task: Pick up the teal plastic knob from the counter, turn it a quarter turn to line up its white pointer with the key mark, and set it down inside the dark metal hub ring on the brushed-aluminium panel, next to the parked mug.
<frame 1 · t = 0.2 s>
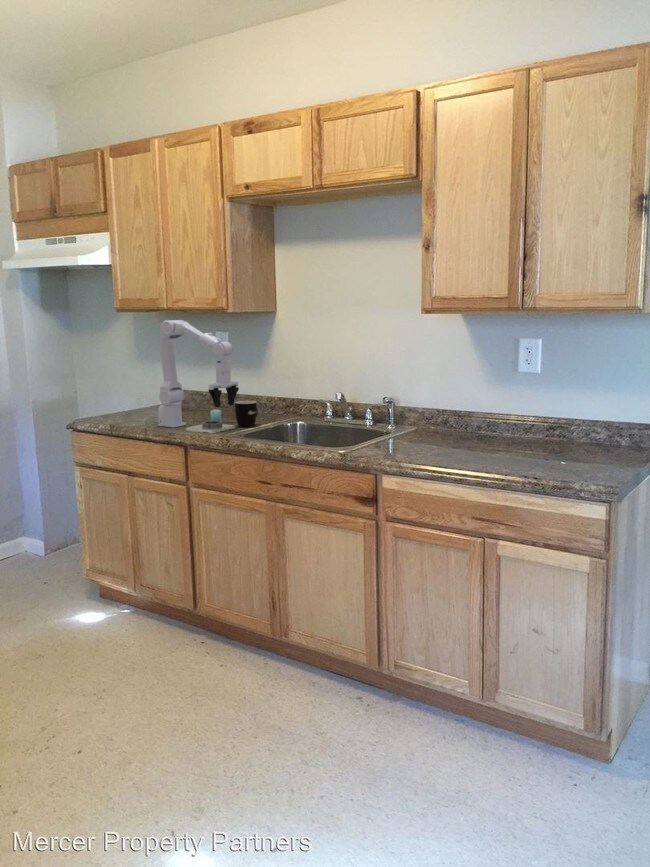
hand: (224, 406, 290), 10 cm above the worktop, fingers open, 7 cm apart
panel: (210, 429, 294), on the worktop
knob: (216, 424, 306), on the worktop
mug: (248, 426, 302), on the worktop
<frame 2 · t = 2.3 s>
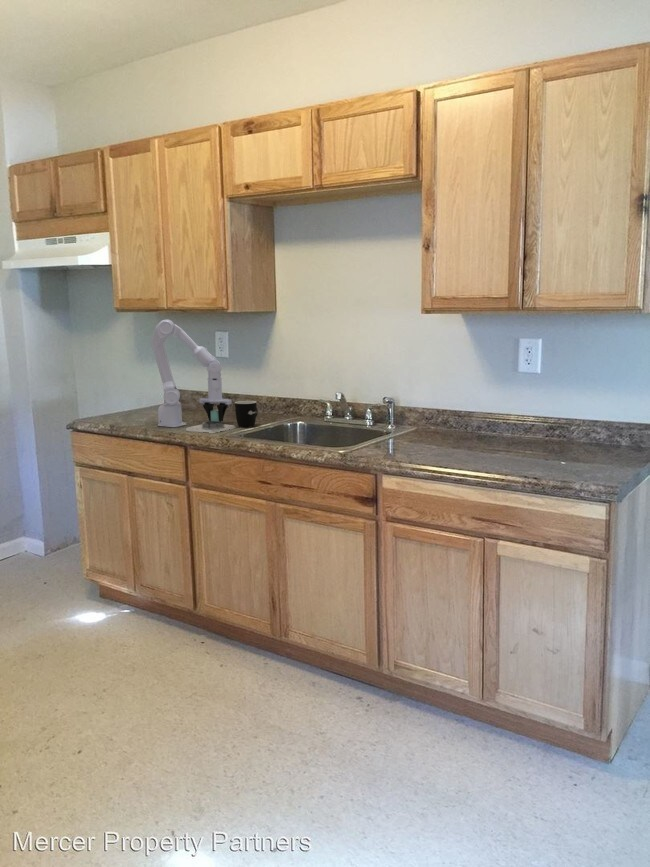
hand: (216, 420, 306), 2 cm above the worktop, fingers closed on knob, 4 cm apart
knob: (216, 424, 306), on the worktop, touching gripper
everything else where it was.
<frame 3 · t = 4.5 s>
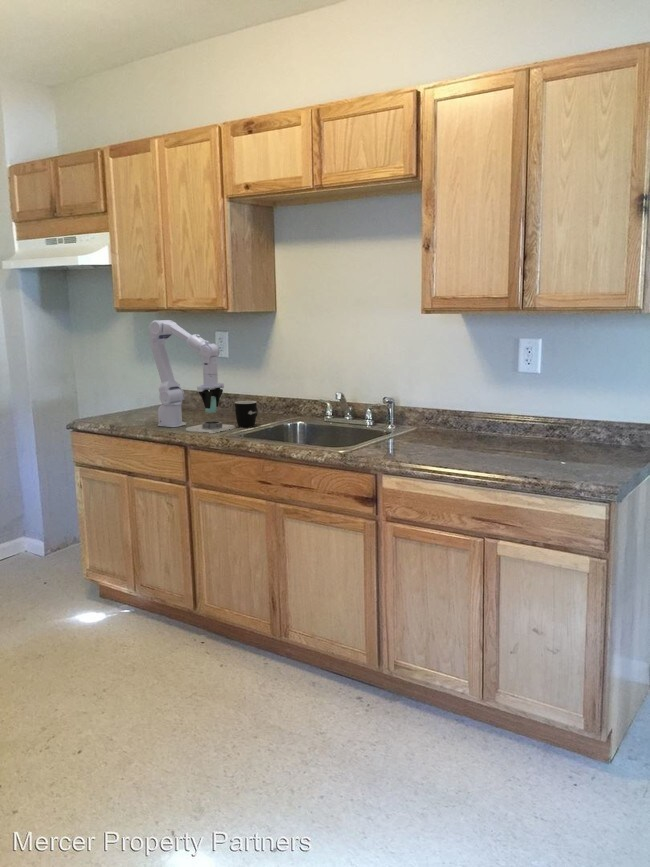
hand: (211, 407, 293), 9 cm above the worktop, fingers closed on knob, 4 cm apart
knob: (211, 412, 293), point 7 cm above the worktop, touching gripper
everything else where it was.
when the fingers open (3 cm above the worktop, at t = 6.8 s): knob stays where it is, resting on panel.
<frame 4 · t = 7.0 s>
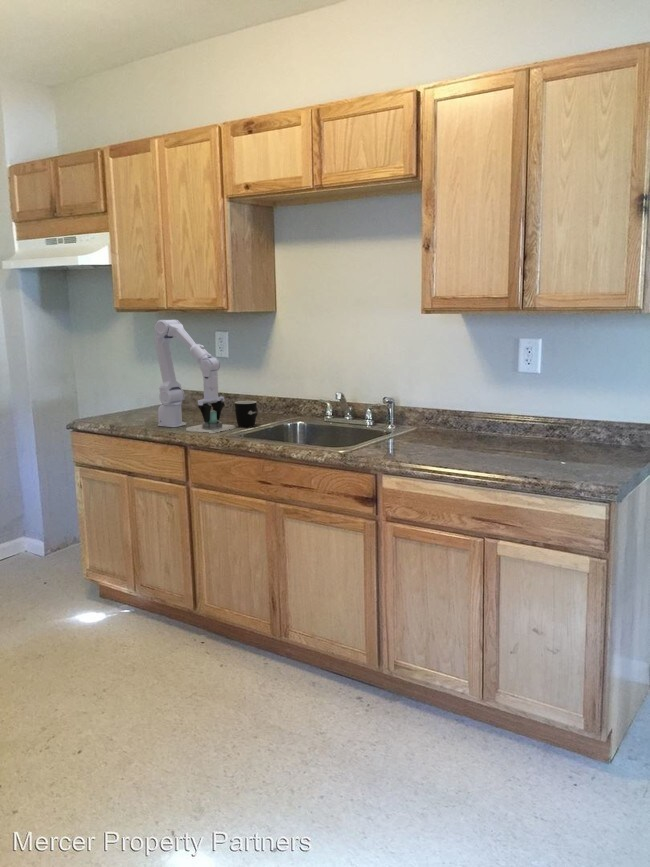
hand: (211, 420, 294), 3 cm above the worktop, fingers open, 6 cm apart
knob: (211, 426, 294), point 1 cm above the worktop, touching panel
everything else where it was.
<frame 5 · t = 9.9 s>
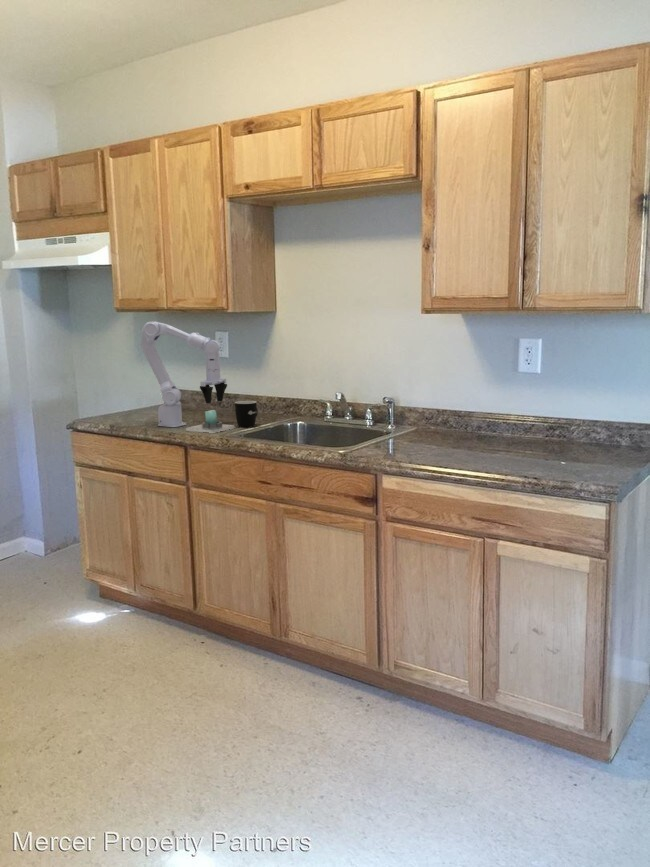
hand: (214, 402, 302), 10 cm above the worktop, fingers open, 7 cm apart
nothing on the worktop moved.
at the end: knob 0.3 cm from the target spot on the panel, point 1.3 cm above the panel's base; knob tilted 2°; the gripper is holding nothing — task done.
